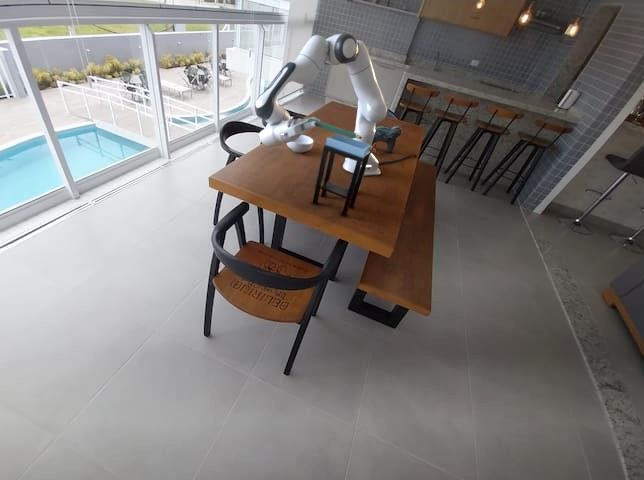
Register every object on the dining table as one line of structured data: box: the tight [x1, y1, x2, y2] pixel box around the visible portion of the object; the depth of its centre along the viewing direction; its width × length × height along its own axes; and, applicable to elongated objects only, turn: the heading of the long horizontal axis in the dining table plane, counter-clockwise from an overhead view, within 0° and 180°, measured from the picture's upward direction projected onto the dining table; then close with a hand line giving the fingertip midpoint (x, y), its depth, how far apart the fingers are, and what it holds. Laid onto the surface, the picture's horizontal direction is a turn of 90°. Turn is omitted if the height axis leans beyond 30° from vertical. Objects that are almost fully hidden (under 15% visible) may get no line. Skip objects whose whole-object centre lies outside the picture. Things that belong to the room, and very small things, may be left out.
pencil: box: [308, 119, 362, 139], centre depth 124 cm, size 24×2×1 cm, turn 60°
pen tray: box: [325, 132, 373, 158], centre depth 125 cm, size 17×8×3 cm, turn 60°
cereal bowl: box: [286, 134, 314, 154], centre depth 186 cm, size 17×17×7 cm
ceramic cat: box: [372, 119, 402, 154], centre depth 201 cm, size 20×6×20 cm, turn 84°
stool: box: [312, 144, 371, 217], centre depth 135 cm, size 17×11×27 cm, turn 60°
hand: (317, 122), depth 126 cm, fingers closed on pencil, 2 cm apart
